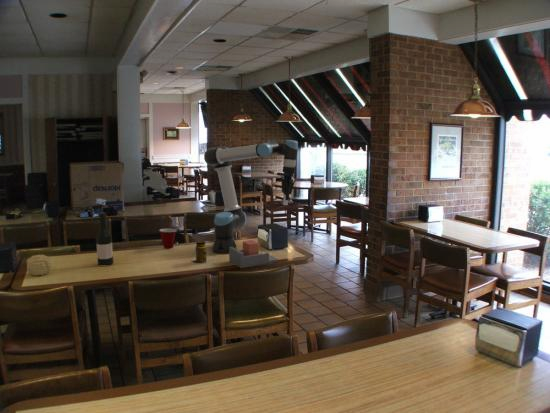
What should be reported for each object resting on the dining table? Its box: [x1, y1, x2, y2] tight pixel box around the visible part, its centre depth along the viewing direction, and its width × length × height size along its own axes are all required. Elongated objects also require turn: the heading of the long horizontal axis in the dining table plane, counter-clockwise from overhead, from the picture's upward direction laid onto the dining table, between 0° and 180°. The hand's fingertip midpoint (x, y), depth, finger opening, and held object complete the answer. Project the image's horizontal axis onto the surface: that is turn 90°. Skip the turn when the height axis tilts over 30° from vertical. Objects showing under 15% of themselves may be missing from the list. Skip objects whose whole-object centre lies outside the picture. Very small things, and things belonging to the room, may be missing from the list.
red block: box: [242, 239, 260, 256], centre depth 277 cm, size 8×7×10 cm
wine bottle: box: [95, 211, 114, 266], centre depth 272 cm, size 8×8×30 cm
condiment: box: [190, 240, 210, 265], centre depth 278 cm, size 7×8×12 cm
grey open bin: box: [228, 247, 279, 269], centre depth 279 cm, size 15×24×8 cm, turn 121°
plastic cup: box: [159, 228, 177, 250], centre depth 307 cm, size 11×11×12 cm
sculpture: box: [26, 254, 52, 276], centre depth 257 cm, size 12×12×11 cm
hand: (285, 204), depth 293 cm, fingers closed
